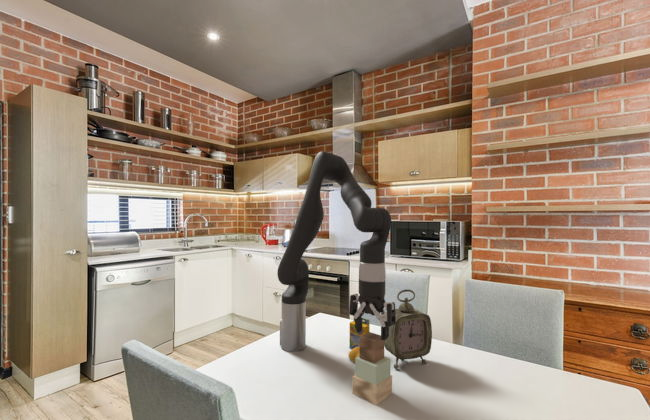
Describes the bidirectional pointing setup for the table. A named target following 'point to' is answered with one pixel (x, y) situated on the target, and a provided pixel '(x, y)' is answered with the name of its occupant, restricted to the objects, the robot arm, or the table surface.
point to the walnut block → (371, 347)
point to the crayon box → (357, 333)
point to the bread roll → (354, 354)
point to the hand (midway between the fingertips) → (371, 335)
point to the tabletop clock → (409, 333)
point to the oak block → (371, 389)
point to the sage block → (372, 370)
